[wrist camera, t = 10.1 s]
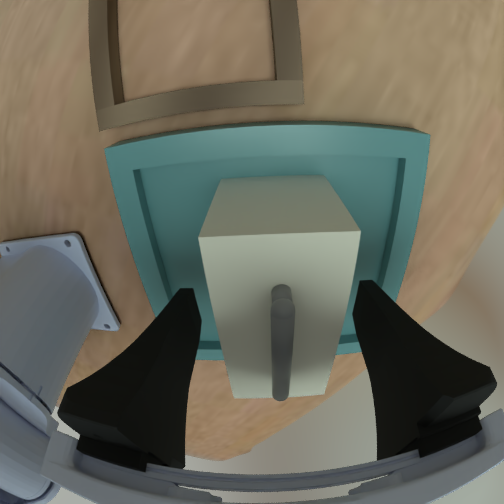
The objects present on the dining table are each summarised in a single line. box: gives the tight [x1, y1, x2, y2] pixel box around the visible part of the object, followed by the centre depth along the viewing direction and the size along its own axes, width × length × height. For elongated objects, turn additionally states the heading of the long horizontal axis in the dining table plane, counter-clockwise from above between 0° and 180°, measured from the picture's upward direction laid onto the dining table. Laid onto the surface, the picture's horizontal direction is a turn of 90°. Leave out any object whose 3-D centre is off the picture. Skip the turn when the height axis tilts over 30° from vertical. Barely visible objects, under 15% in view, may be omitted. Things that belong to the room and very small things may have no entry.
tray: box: [104, 121, 430, 360], centre depth 14 cm, size 14×14×2 cm
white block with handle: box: [198, 175, 361, 401], centre depth 11 cm, size 4×9×6 cm, turn 4°
